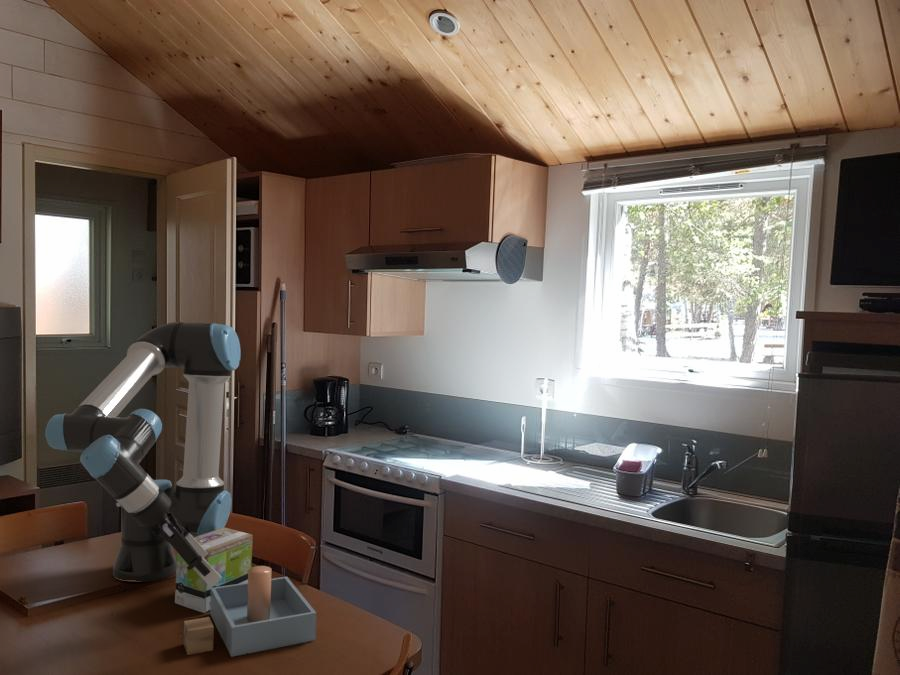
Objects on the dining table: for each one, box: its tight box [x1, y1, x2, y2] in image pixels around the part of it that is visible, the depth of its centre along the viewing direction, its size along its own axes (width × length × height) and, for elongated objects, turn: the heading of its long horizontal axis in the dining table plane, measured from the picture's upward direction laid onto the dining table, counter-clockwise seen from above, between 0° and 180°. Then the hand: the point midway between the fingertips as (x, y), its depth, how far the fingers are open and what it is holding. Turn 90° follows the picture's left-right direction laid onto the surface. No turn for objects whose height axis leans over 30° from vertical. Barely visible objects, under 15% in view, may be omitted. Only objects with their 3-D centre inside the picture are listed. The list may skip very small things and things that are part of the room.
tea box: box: [174, 526, 254, 614], centre depth 175 cm, size 15×10×15 cm, turn 153°
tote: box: [209, 576, 317, 658], centre depth 161 cm, size 22×18×6 cm
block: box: [183, 616, 215, 656], centre depth 151 cm, size 5×5×5 cm
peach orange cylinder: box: [247, 565, 273, 623], centre depth 163 cm, size 5×5×11 cm
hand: (209, 569), depth 157 cm, fingers open, 13 cm apart
